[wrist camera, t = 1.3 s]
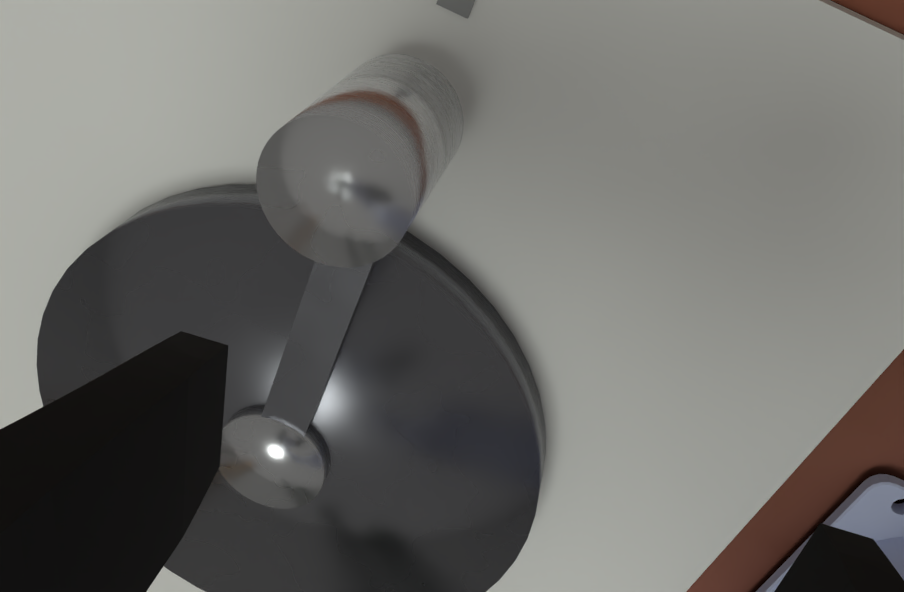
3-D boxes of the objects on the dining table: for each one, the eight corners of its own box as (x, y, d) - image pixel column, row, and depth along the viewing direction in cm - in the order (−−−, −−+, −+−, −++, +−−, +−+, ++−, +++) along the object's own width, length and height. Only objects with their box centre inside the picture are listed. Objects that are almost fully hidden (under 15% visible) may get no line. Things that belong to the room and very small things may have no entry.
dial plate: (1075, 116, 16) (1101, 133, 15) (506, 769, 31) (501, 799, 30) (-138, -456, 16) (-188, -475, 15) (-121, 480, 31) (-146, 501, 30)
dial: (435, 655, 27) (388, 826, 22) (45, 475, 27) (-83, 609, 22) (744, 186, 17) (775, 319, 12) (131, -101, 17) (-67, -75, 12)
